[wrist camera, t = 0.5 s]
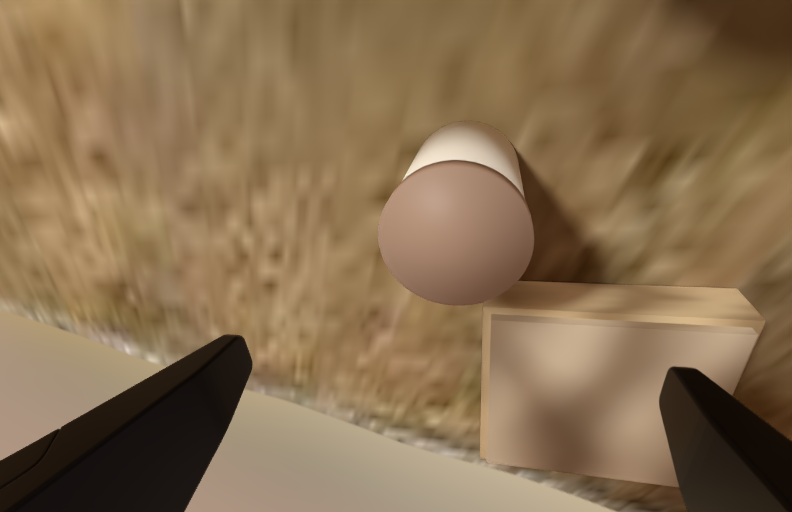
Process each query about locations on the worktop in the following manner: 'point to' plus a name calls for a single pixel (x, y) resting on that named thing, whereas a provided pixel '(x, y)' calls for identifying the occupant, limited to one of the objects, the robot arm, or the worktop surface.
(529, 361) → the block
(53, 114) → the worktop surface
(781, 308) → the worktop surface
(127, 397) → the robot arm
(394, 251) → the spice tin
